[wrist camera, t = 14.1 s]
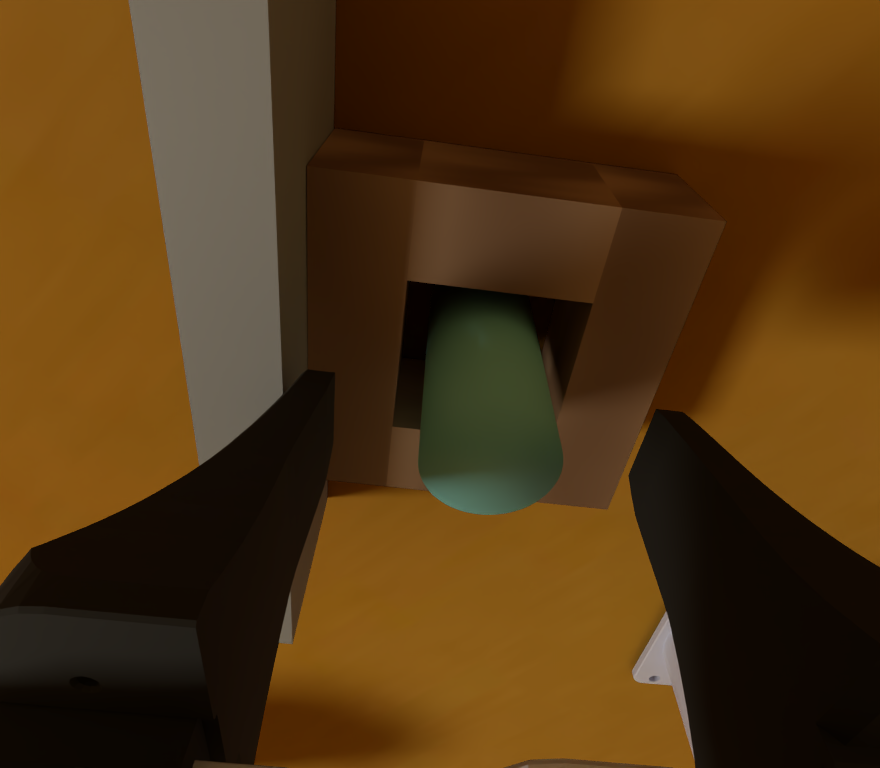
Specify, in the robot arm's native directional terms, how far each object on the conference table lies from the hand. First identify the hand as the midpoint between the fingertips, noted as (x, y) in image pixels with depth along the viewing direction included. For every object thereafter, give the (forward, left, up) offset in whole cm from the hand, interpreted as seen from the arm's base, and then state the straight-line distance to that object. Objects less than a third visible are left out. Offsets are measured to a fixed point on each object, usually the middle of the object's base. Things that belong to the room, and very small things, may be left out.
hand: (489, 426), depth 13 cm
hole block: (0, 0, -6) cm, 6 cm away
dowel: (0, 0, -6) cm, 6 cm away
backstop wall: (+6, -1, -6) cm, 8 cm away
